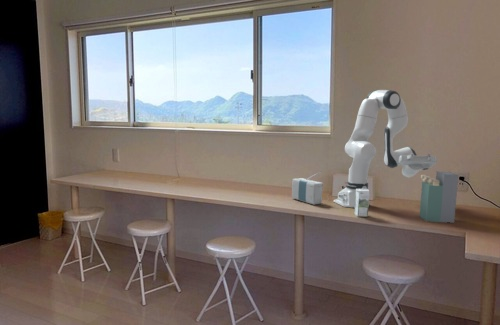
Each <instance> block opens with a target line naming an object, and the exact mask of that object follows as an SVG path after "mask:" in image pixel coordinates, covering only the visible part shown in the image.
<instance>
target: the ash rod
mask: <svg viewBox="0 0 500 325" xmlns="http://www.w3.org/2000/svg"><path fill="white" fill-rule="evenodd" d="M420 180H421V181H422V182H427V183H429V184H431V185H433V186H439V182H440V181H439V180H436V178H434V177H431V176H428V175H426V174H421V175H420Z"/></svg>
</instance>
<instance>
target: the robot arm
mask: <svg viewBox="0 0 500 325" xmlns="http://www.w3.org/2000/svg"><path fill="white" fill-rule="evenodd" d="M380 110H386V112H387V117H388V118H387V119H388V122H387V125H386V127H385V128H384V132H383V134H384V137H383V138H384V142H383V143H384V144H383V145H384V146H383V147H384V148H383V149H384V153H383V162H384V164H385V166H386V167H387V168H390V169H394V168H396V167H398V166H402V169H401V174H402V175H403V176H404V177H406V178H412V177H415V175H416V174H418V172H420V171H425V170H431V168H432V167H433V166H435V165H436V164H437V162H438V159H437V156H435V155H432V154H427V155H417V153H416V151H415V149H413V148H412V147H409V146H406V147H402V148H399V149H396V150H394V147H393V144H394V143H393V140H394V138H395V136H396V135H398V134H399V133H400V132H402V131H403V130H404V129H405V128H406V127H407V126H408V123H409V116H408V109H407V106H406V103H405V100H404V99H403V98H402V97H401V96H400V94H399V92H397V91H396V90H388V89H378V90H377V89H375V90H372V91H370V92H369V93H368V94H367V96H366V98H365V99H363V100H362V101H361V104H360V106H359V109H358V112H357V116H356V120H355V124H354V128H353V130H352V134H351V136H350V138H349V139H348V141H347V142H346V143H345V146H344V152H345V154H347V156H349V157H350V158H353V159H352V163H351V166H350V167H349V168H348V181H345V183H344V184H345V188H343V189H341V190H340V191H339V192H338V193H337V198H335V199H333V202H334V203H336V204H338V205H340V206H342V207H344V208H354V209H355V198H356V189H368V190H369V182H368V180H369V169H370V165H371V163H372V160H373V159H374V158H375V156H376V153H377V148H376V147H375V145H374V144H373V143H372V142H370V141H369V139H370V138H371V137H372V135H373V134H374V132H375V128H376V124H377V119H378V114H379V111H380Z"/></svg>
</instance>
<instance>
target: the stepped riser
mask: <svg viewBox="0 0 500 325" xmlns="http://www.w3.org/2000/svg"><path fill="white" fill-rule="evenodd" d="M435 173H436V174H435V179H436V180H439V181H440V182H439V186H433V185H431V184H429V183H427V182H425V181H422V182H421V190H420V191H421V192H420V194H421V195H420V204H419V205H420V206H419V218H421V219H422V220H423V221H424V222H426V221H430V222H429V223H447V222H450V223H451V224H452V223H453V224H454V223H455V216H456V207H457V206H456V205H457V192H458V183H459V174H457V173H455V172H451V171H441V170H440V171H439V170H438V171H436V172H435Z"/></svg>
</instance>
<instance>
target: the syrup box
mask: <svg viewBox="0 0 500 325" xmlns="http://www.w3.org/2000/svg"><path fill="white" fill-rule="evenodd" d="M369 207H370V190H369V188H368V189H356V198H355V208H354V213H353V214H354V215H355V216H356V217H357V218H359V217H360V218H368V217H369Z"/></svg>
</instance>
